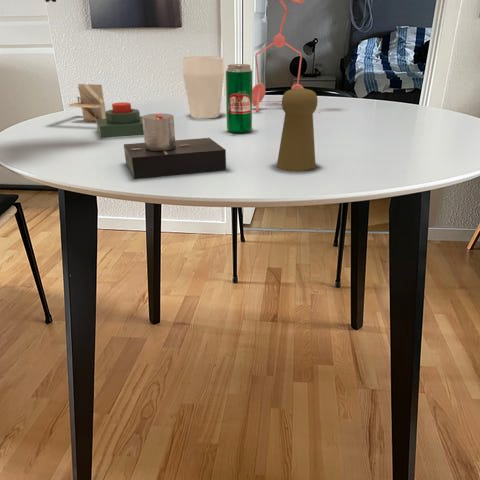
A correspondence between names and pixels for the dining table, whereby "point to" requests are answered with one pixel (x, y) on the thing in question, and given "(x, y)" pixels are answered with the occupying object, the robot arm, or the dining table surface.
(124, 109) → the button
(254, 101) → the pink branching rod frame
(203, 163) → the panel
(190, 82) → the cup
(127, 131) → the block
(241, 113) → the soda can
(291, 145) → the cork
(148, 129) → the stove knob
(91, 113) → the architectural model
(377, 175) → the dining table surface
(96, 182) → the dining table surface
